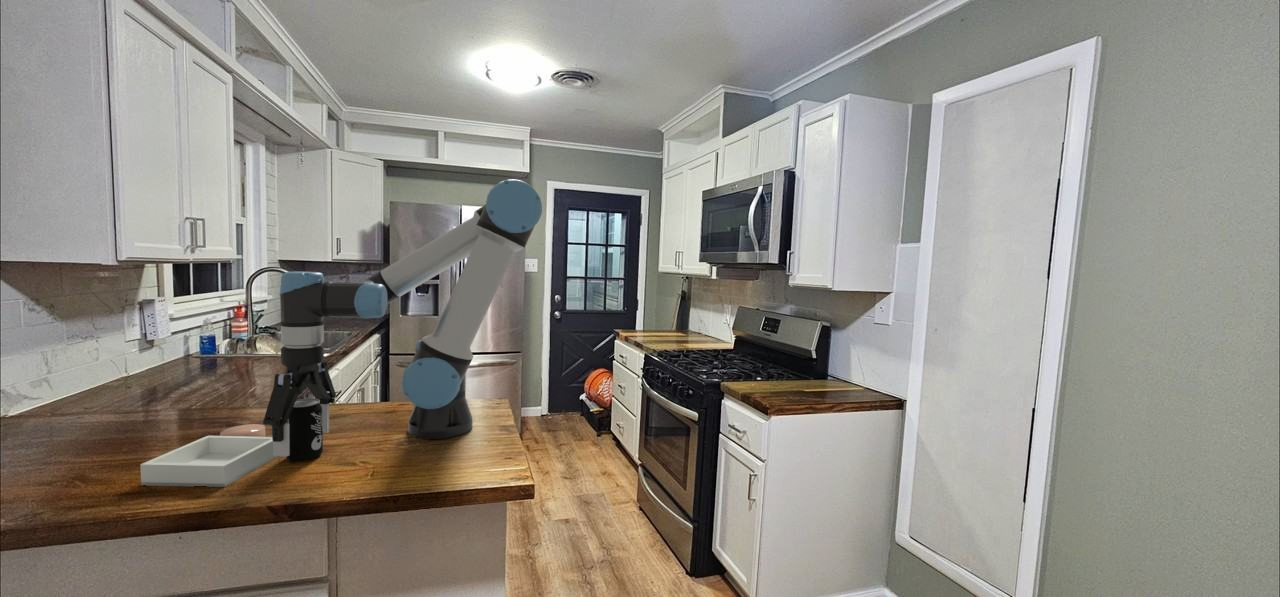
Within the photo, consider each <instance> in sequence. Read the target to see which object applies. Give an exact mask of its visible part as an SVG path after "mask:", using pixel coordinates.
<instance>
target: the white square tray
mask: <svg viewBox="0 0 1280 597" xmlns="http://www.w3.org/2000/svg"><path fill="white" fill-rule="evenodd" d="M272 437H273V436H265V437H249V436H220V435H206V436H204V437H201V438H199V439H196V440H195V441H192V442H190V443H187V444H185V445H183V446H181V447H178V448H175V449H173V450H170V451H169V452H166V453H164V454H162V455H159V456H157V457H155V458H152V459H150V460H148V461H145V462H142V463H140V465H139V466H140V481H141V482H140V483H141V485H140V486H143V485H146V486H150V487H151V486H154V487H194V486H207V487H206V488H208V487H209V488H210V487H211V488H212V487H214V488H226V487H227V485H228V486H229V485H231V484H232V483H235V482H237V481H239V480H240V479H241V478H244V477H245V476H247V475H249V474H250V473H253V471H256V470H257V469H259V468H261V467H262V466H265V465H266V464H267V463H269V462H271V461H273V460H275V459H276V458H278V457H279V456H273V440H272ZM146 486H145V487H146Z"/></svg>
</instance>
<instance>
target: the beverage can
mask: <svg viewBox="0 0 1280 597" xmlns="http://www.w3.org/2000/svg"><path fill="white" fill-rule="evenodd" d="M319 402H320V400H319V399H315V398H314V397H313V398H300V399H299V398H298V399H297V400H296V402H295V404H294V406H293V408H292V411H291V413H290V415H289V417H288V420H287V422H286V423H287V424H289V449H290V455H289V456H287V457H286V458H287V459H288V460H289V461H290V462H293V463H302V462H308V461H312V460H314V459H317V458H319V457H320V456H321V454H322V453H323V450H324V448H323V447H324V445H323V444H324V443H323V442H324V440H323V438H324V436H323V435H324V433H323V426H322V406H321V405H320V403H319Z"/></svg>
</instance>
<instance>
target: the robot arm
mask: <svg viewBox="0 0 1280 597" xmlns="http://www.w3.org/2000/svg"><path fill="white" fill-rule="evenodd" d="M542 213H543V203H542V199H541V197H540V195H539V193H538V192H537V190H536V189H535V188H534V187H533V186H532V185H530V184H529V183H528V182H525V181H523V180H519V179H506V180H505V179H504V180H503V181H500V182H498V183H497V184H496V185H494V186H493V187H492V188H491V189H490V191H489V192H488V193H487V196H486V202H485V204H484V205H483V206H481V207H480V208H478V209H475V211H474V213H473V216H472V217H471V218H469V219H467V220H466V221H464V222H462V223H461V224H459V225H457V226H456V227H454V228H452V229H450V230H448V231H447V232H445V233H444V234H442V235H440V236H438V237H437V238H434V239H433V240H432V241H430V242H428V243H426V244H425V245H422V246H421V247H420V248H418V249H415V250H414V251H413V252H410V253H409V254H407V255H405V256H404V257H402V258H401V259H399V260H397V261H395V262H393V263H392V264H390V265H388V266H386V267H385V268H383V269H381V270H380V271H378V272H375V273H374V274H372V275H371V276H369V277H368V278H365V279H363V280H361V281H357V282H332V281H325V278H324V274H323V273H322V272H318V271H297V270H296V271H286V272H284V273H282V275H281V276H280V287H279V288H280V290H279V301H280V302H279V303H280V306H279V307H280V344H281V345H282V347H281V348H280V364H282V366H285V367H286V372H285V373H276V374H275V375H274V379H273V380H274V382H273V383H274V384H273V388H272V391H271V395H270V399H269V401H268V404H267V407H266V408H267V409H266V410H265V414H264V418H263V421H262V425H264V426H271V431H272V436H271V437H272V440H273V456H278V457H284V458H287V456H289V455H290V449H289V424H287V423H286V422H287V420H288V417H289V415H290V413H291V411H292V408H293V406H294V404H295V402H296V400H298V397H299V396H300V395H301V394H302V393H303V391H305V390H307V389H308V390H309V392H310V393H311V395H312V396H313V398H314V399H319V400H320V402H319V403H320V405H321V406H322V426H323V434H329V433H330V404H334V403H335V401H336V400H335V398H336V397H337V394H336V390H335V388H334V384H333V382H332V378H331V376H330V372H329V367H328V366H329V364H328V361H324V360H325V358H324V356H325V353H324V352H325V351H324V350H325V349H324V348H325V347H324V345H323V343H324V342H325V336H324V335H325V334H324V333H325V332H324V323H325V322H324V318H346V319H347V318H348V319H349V318H353V319H364V320H365V319H366V320H367V319H375V318H376V319H378V318H382V317H384V316H385V315H386V311H387V309H388V305H389V304H391V303H393V302H394V301H395V300H397V299H399V298H400V297H402V296H403V295H405V294H407V293H409V292H410V291H413V289H415V288H417V287H419V286H420V285H422V284H424V283H426V282H427V281H429V280H431V279H432V278H435V277H436V276H438V275H439V274H441V273H443V272H445V271H446V270H448V269H450V268H451V267H453V266H455V265H456V264H457V263H459V262H461V261H463V260H465V259H466V258H467V261H466V263H465V265H464V267H463V269H462V270H461V273H460V275H459V277H458V279H457V281H456V283H455V286H454V288H453V290H452V292H451V294H450V296H449V298H448V301H447V302H446V304H445V306H444V307H445V308H444V310H443V311H442V313H441V315H440V318H439V319H438V322H437V324H436V326H435V328H434V330H433V332H432V333H431V334H428V335H426V336H425V335H424V336H423V337H422V338H421V339H419V340H417V342H416V343H415V349H414V353H415V354H414V356H413V357H412V360H411V362H410V364H408V366H407V367H406V368H405V370H404V372H403V374H402V377H401V378H402V380H401V389H402V392H403V393H404V396H405V397H406V399H407V400H408V401H409V402H410V403H411V404H413V408H412V411H411V415H410V416H409V420H408V426H407V427H408V428H407V430H408V431H407V433H408V434H409V436H411V437H414V438H417V439H424V440H441V439H449V438H453V437H458V436H461V435H464V434H466V433H468V432H469V431H471V430H472V429H473V416H472V413H471V410H470V407H469V404H468V400H467V398H466V397H467V396H466V390H467V389H466V386H467V385H466V384H467V383H466V381H467V380H466V374H467V372H468V369H469V367H470V365H471V363H472V361H473V358H474V355H473V352H472V350H471V347H472V345H473V342H474V340H475V338H476V336H477V334H478V332H479V330H480V327H481V325H482V324H483V321H484V318H485V317H486V315H487V313H488V310H489V308H490V307H491V304H492V302H493V301H494V299H495V298H494V297H495V296H496V293H497V291H498V290H499V287H500V285H501V283H502V280H503V278H504V276H505V274H506V272H507V270H508V268H509V266H510V263H511V261H512V259H513V257H514V255H515V254H516V253H517V252H519V251H522V250H524V249H525V248H526V245H527V243H528V242H529V239H530V236H531V235H532V233H533V230H534V229H535V226H537V224H538V223H539V221H540V219H541V217H542Z"/></svg>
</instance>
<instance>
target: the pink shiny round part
mask: <svg viewBox="0 0 1280 597" xmlns="http://www.w3.org/2000/svg"><path fill="white" fill-rule="evenodd" d="M219 436H249V437H266V425H264V424H260V423H259V424H257V423H251V424H250V423H249V424H242V425H235V426H231V427H228V428H226V429H223V430H221V431H220V433H219Z"/></svg>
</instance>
